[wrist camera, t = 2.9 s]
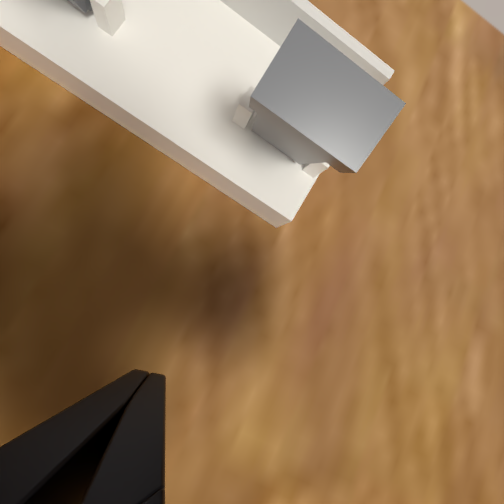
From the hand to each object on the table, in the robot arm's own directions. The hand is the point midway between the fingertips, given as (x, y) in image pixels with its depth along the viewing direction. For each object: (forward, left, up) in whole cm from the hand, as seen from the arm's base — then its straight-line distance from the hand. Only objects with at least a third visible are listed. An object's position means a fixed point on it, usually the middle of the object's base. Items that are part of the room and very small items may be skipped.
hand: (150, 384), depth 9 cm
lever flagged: (+8, +9, -8) cm, 14 cm away
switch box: (+5, +14, -12) cm, 19 cm away
